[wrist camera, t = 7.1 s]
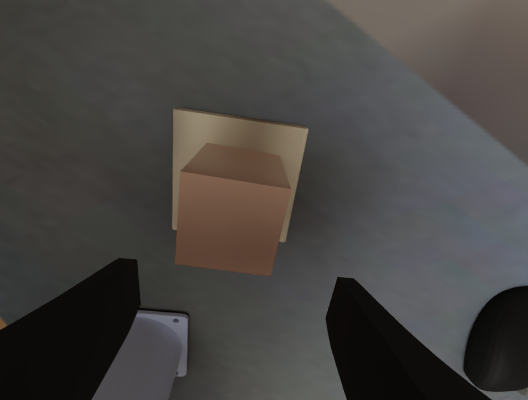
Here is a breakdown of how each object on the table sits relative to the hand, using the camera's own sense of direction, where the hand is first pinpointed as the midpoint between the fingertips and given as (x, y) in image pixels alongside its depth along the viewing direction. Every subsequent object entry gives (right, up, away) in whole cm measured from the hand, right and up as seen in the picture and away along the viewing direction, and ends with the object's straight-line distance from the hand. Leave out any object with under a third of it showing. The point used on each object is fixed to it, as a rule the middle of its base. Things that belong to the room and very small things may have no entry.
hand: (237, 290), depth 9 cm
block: (-1, +4, +7) cm, 9 cm away
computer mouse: (+24, -9, +16) cm, 31 cm away
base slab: (-1, +5, +9) cm, 11 cm away
